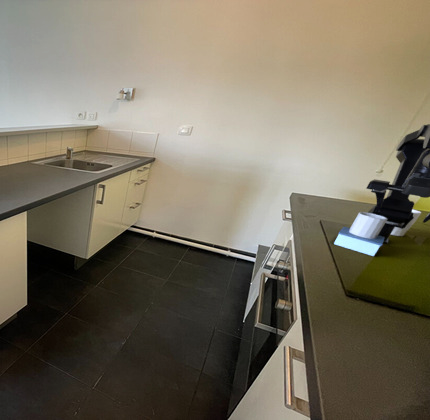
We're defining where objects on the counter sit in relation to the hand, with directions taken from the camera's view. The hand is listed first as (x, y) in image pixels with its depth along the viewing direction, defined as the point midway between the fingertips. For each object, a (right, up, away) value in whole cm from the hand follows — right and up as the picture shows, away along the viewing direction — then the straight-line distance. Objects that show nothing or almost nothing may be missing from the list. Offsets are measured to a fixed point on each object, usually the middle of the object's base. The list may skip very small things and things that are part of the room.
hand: (399, 217), depth 78 cm
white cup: (+22, -7, +19) cm, 30 cm away
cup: (-7, -6, +4) cm, 10 cm away
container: (-8, -10, +6) cm, 14 cm away
